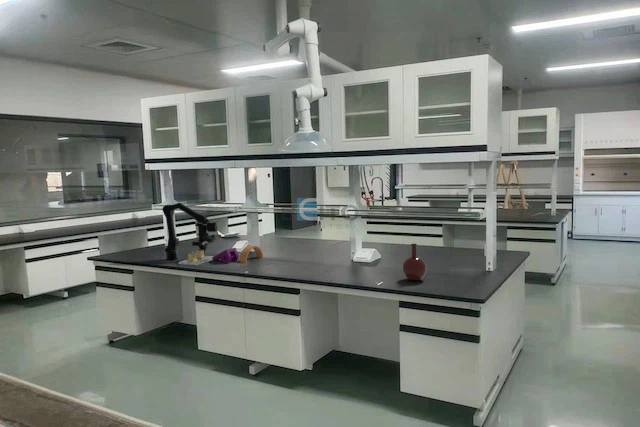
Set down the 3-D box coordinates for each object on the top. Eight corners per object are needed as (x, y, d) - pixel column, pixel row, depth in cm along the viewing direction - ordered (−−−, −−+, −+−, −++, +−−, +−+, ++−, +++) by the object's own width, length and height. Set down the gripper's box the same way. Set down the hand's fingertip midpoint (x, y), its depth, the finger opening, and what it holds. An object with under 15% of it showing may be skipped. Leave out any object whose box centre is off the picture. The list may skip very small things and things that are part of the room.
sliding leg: (196, 257, 333) (195, 249, 332) (199, 256, 337) (199, 248, 336) (201, 258, 332) (200, 249, 331) (204, 257, 335) (203, 248, 335)
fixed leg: (188, 261, 324) (187, 252, 324) (191, 260, 328) (191, 251, 328) (193, 261, 323) (192, 252, 322) (196, 260, 327) (196, 251, 326)
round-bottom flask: (399, 282, 256) (399, 245, 254) (405, 276, 268) (404, 241, 266) (423, 283, 250) (423, 246, 248) (428, 278, 262) (428, 242, 260)
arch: (263, 257, 338) (262, 244, 337) (245, 263, 321) (245, 248, 320) (257, 257, 341) (256, 243, 340) (239, 262, 324) (238, 248, 323)
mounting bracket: (213, 270, 328) (230, 261, 319) (209, 259, 329) (226, 249, 320) (223, 267, 336) (240, 258, 327) (218, 256, 337) (235, 247, 328)
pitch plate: (178, 264, 323) (178, 261, 322) (199, 257, 345) (199, 255, 345) (196, 265, 318) (195, 262, 318) (215, 258, 340) (215, 255, 340)
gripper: (204, 234, 325) (205, 256, 327) (219, 230, 342) (220, 251, 344) (191, 233, 329) (192, 255, 330) (206, 230, 346) (207, 251, 348)
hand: (203, 253), depth 338 cm, fingers closed
